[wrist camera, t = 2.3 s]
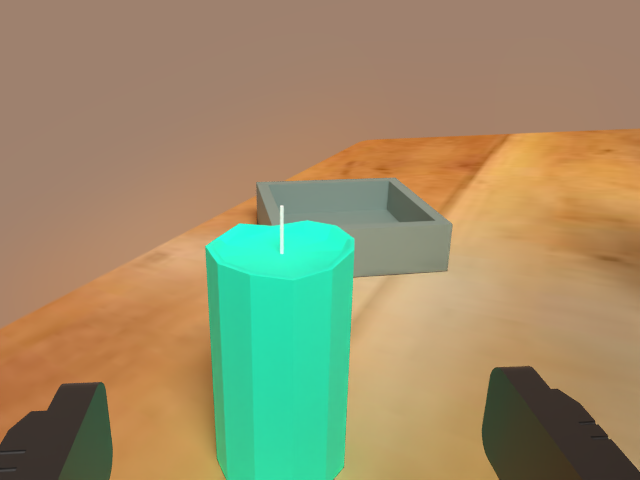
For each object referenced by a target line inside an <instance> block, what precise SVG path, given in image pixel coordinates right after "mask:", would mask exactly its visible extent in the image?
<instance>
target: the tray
mask: <svg viewBox="0 0 640 480" xmlns="http://www.w3.org/2000/svg"><path fill="white" fill-rule="evenodd" d="M256 186H257V223H258V225H267V226H275V225H280V206H281V205H282V206H284V224H287V223H293V222H299V221H305V220H309V221H314V222H320V223H325V224H331V225H336V226H338V227H339V228H341V229H342V230H343V231H345V232H346V233H347V234H349V235H350V236H351V237H353V238H354V248H355V249H354V270H353V277H362V276H377V275H392V274H407V273H421V272H436V271H447V268H448V260H449V251H450V242H451V233H452V225H453V224H452V223H450V222H449V221H448V220H447V219H445V218H444V217H443V216H442V215H440V214H439V213H438V212H437V211H436V210H434V209H433V208H432V207H431V206H429V205H428V204H427V203H426V202H424V201H423V200H422V199H421V198H420V197H418V196H417V195H416V194H415V193H413V192H412V191H411V190H410V189H408V188H407V187H406V186H405V185H404V184H402V183H401V182H400V181H399V180H397V179H396V178H373V179H342V180H311V181H280V182H257V183H256Z"/></svg>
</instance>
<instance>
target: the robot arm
mask: <svg viewBox="0 0 640 480" xmlns="http://www.w3.org/2000/svg"><path fill="white" fill-rule="evenodd" d="M482 440H483V446H484V450H485V453H486V456H487V458H488V460H489V462H490V463H491V465H492V467H493V469H494V471H495V472H496V474H497V476H498V478H499V480H640V472H639V470H638V469H637V468H636V467H635V466H634V465H633V464H632V462H631V461H630V460H629V459H628V458H627V457H626V456H625V454H624V453H623V452H622V451H621V450H620V449H619V448H618V446H617V445H616V444H615V443H614V442H613V441H612V440H611V439H608V435H607V434H606V433H605V432H604V430H603V429H602V428H601V427H600V426H599V425H596V424H595V420H594V419H593V418H592V417H591V416H590V414H589V413H588V412H587V411H586V410H585V409H584V408H583V406H582V405H581V404H580V403H578V402H577V401H575V400H574V399H572V398H571V397H569V396H568V395H566V394H565V393H563V392H562V391H560V390H558V389H550V388H549V386H548V385H547V384H546V383H545V382H544V380H543V379H542V378H541V377H540V376H539V374H538V373H537V372H536V371H535V370H534V369H533V368H532V367H530V366H521V367H497V368H494V369H493V370H492V372H491V375H490V381H489V387H488V393H487V400H486V406H485V412H484V418H483V425H482ZM112 457H113V449H112V438H111V430H110V421H109V413H108V405H107V396H106V389H105V386H104V384H103V383H102V382H94V383H69V384H62V385H61V386H60V387H59V389H58V391H57V393H56V394H55V396H54V398H53V400H52V402H51V404H50V406H49V408H48V410H47V411H31V412H30V413H29V414H27V415H26V416H25V417H24V418H23V419H21V420H20V421H19V422H18V423H17V424H15V425H14V426H13V427H12V428H11V429H9V431H8V432H7V434H6V436H5V437H4V439H3V441H2V442H1V444H0V480H109V479H110V474H111V468H112Z"/></svg>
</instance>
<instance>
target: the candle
mask: <svg viewBox="0 0 640 480" xmlns="http://www.w3.org/2000/svg"><path fill="white" fill-rule="evenodd" d="M205 249H206V267H207V285H208V303H209V322H210V340H211V358H212V376H213V395H214V413H215V431H216V449H217V460H218V462H219V465H220V467H221V469H222V471H223V473H224V476H225V478H226V480H333V479H334V478H335V477H336V476H337V475H338V473H339V472H340V471H341V470H342V469H343V468H344V456H345V435H346V415H347V394H348V373H349V353H350V332H351V311H352V291H353V270H354V249H355V248H354V238H353V237H351V236H350V235H349V234H347V233H346V232H345V231H343V230H342V229H341V228H339V227H338V226H336V225H331V224H325V223H320V222H314V221H309V220H305V221H299V222H293V223H287V224H284V206H282V205H281V206H280V225H275V226H267V225H253V224H238V225H236V226H235V227H233V228H232V229H230V230H229V231H227V232H226V233H224V234H223V235H221V236H220V237H218V238H216V239H215V240H213V241H212V242H211V243H209V244H208V245H206V246H205Z"/></svg>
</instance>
